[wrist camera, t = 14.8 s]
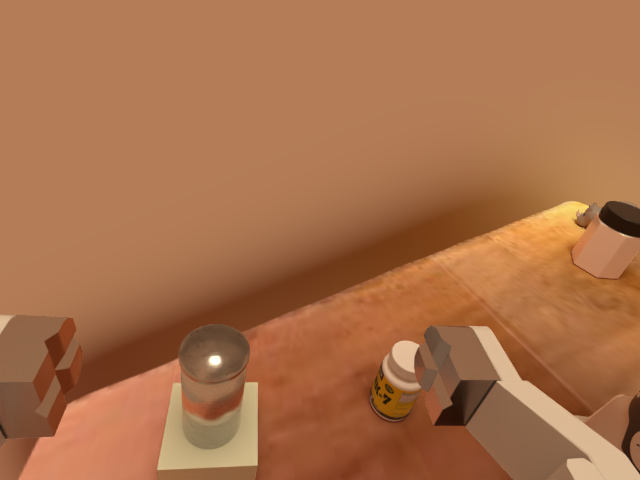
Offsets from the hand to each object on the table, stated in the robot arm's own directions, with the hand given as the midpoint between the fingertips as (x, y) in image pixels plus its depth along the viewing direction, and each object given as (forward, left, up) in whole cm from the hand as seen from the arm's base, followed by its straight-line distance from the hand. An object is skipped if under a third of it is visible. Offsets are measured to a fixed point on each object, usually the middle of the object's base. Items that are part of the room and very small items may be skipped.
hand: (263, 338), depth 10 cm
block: (+2, -14, -32) cm, 35 cm away
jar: (-66, -46, -32) cm, 87 cm away
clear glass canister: (+2, -14, -28) cm, 31 cm away
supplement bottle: (-17, -18, -32) cm, 41 cm away
